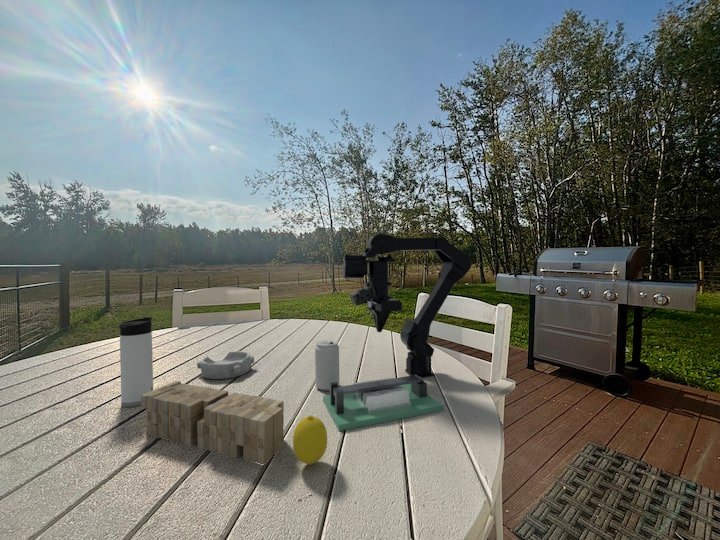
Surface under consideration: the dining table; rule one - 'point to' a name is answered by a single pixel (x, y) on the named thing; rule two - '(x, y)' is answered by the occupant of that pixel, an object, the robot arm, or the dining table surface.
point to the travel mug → (136, 360)
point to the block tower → (216, 420)
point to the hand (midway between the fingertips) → (379, 332)
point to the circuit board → (359, 416)
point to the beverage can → (326, 364)
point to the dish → (226, 365)
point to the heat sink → (379, 397)
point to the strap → (379, 384)
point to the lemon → (310, 440)
